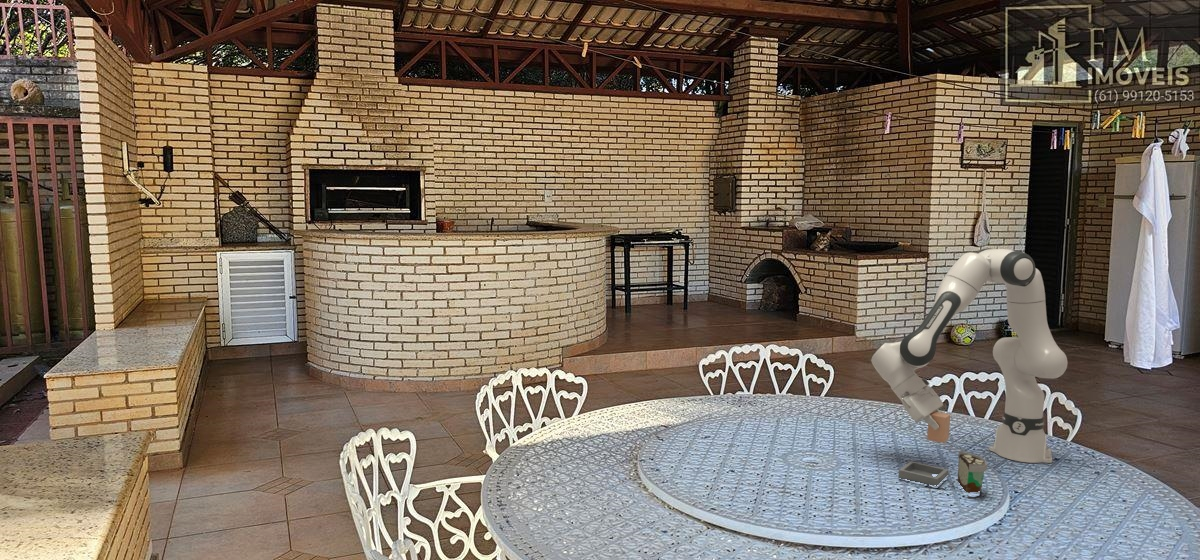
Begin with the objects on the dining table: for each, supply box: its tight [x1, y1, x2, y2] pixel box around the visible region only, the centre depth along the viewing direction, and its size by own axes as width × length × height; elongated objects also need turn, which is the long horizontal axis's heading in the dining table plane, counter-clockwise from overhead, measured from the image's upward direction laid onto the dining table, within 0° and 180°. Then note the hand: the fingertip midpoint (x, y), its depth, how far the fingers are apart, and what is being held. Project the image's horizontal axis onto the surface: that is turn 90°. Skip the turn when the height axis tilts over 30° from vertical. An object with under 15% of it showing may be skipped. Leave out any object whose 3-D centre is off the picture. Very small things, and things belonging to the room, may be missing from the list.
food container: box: [957, 451, 988, 493], centre depth 221 cm, size 12×6×10 cm, turn 168°
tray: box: [897, 460, 949, 486], centre depth 230 cm, size 11×11×3 cm
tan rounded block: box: [926, 411, 951, 444], centre depth 238 cm, size 5×5×8 cm
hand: (941, 426), depth 238 cm, fingers closed on tan rounded block, 5 cm apart
